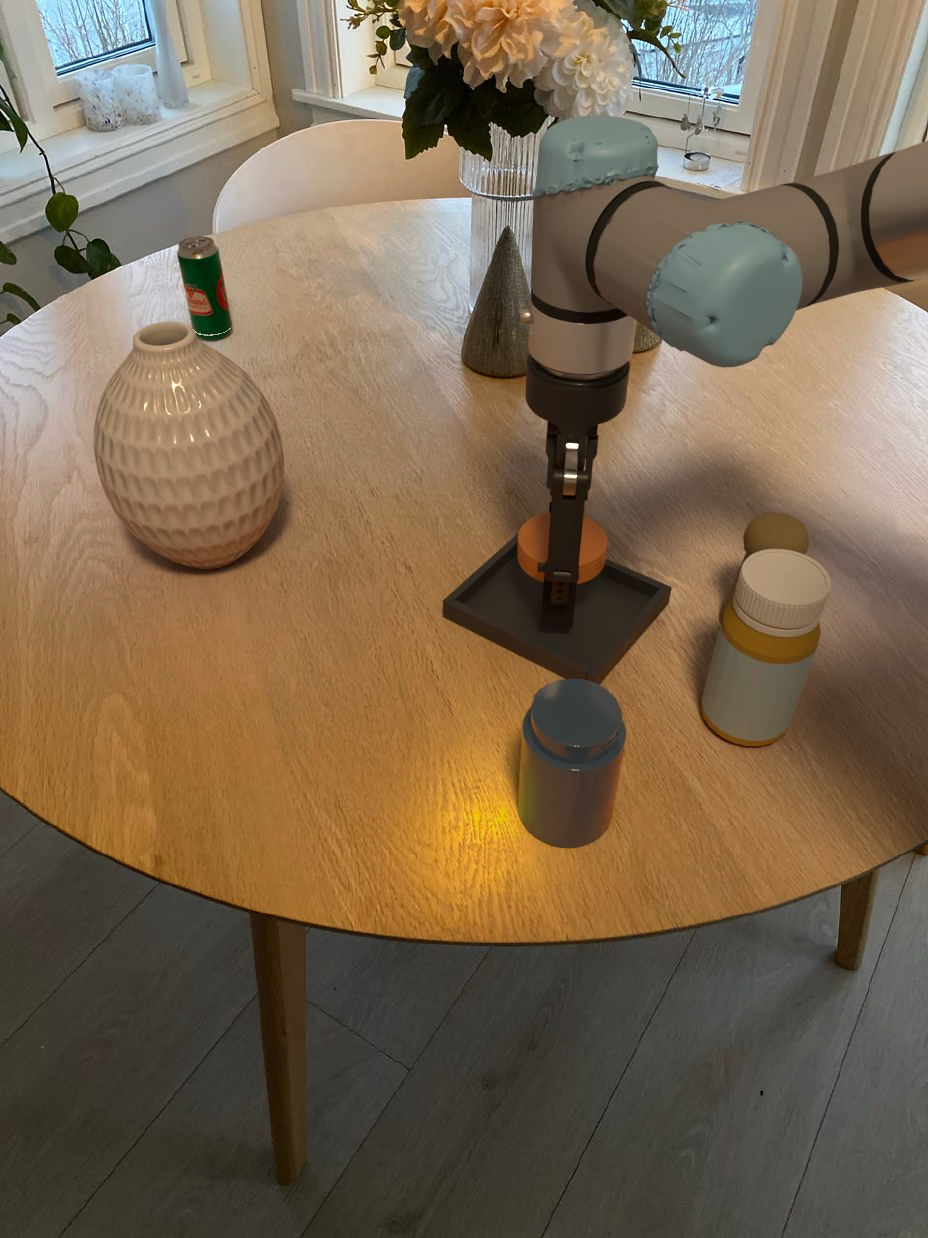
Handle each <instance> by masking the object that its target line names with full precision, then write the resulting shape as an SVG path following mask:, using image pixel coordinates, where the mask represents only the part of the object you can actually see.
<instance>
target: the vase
mask: <svg viewBox="0 0 928 1238" xmlns="http://www.w3.org/2000/svg"><path fill="white" fill-rule="evenodd" d="M93 451H94V452H93V454H94V459H95V464H96V469H97V470H96V471H97V475H98V478H99V480H100V484H101V486H102V489H103V492H104V494H105V496H106V498H107V500H108V503H109V504H110V506H111V508H112V510H113V511H114V514H115V515H116V516H117V518H118V519H119V520H120V521H121V522H122V523H123V525H124V526H125V527H126V528H127V529H128V531H129V532H130V533H131V534H132V535H133V536H134V537H135V538H136V539H138V540H139V541H140V542H141V543H143V544H144V545H145V546H147V547H148V548H149V549H150V550H152V551H153V552H155V553H157V554H159V555H160V556H162V557H164V558H166V559H168V560H169V561H172V562H175V563H177V564H180V565H183V566H185V567H189V568H194V569H200V570H212V569H219V568H223V567H225V566H228V565H230V564H232V563H234V562H236V561H237V560H239V559H241V558H242V557H243V556H244V555H245V554H246V553H248V552H249V551H250V550H251V548H253V547H254V546H255V545H256V544H257V543H258V542H259V540H260V539H261V537H263V534H264V533H265V532H266V530H267V529H268V527H269V526H270V524H271V521H272V520H273V518H274V515H275V513H276V511H277V509H278V508H279V504H280V501H281V500H280V499H281V495H282V492H283V487H284V480H285V455H284V450H283V441H282V436H281V432H280V430H279V426H278V422H277V420H276V416H275V415H274V412H273V410H272V408H271V406H270V404H269V402H268V400H267V398H266V396H264V394H263V392H262V391H261V390H260V387H258V385H257V384H256V382H255V381H254V380H253V379H252V378H251V377H250V376H249V374H248V373H247V372H246V371H245V370H244V369H243V368H241V367H240V366H239V365H238V364H237V363H235V362H234V361H233V360H232V359H230V358H229V357H227V356H226V355H224V354H223V353H221V352H220V351H218V350H216V349H215V348H213V347H212V346H211V345H208V344H206V343H205V342H203V340H202V341H201V339H200V338H198V337H197V336H196V333H195V331H194V330H193V328H192V326H190V325H188V324H186V323H184V322H179V321H161V322H155V323H152V324H148V325H146V326H144V327H142V328H141V329H139V330H138V331H136V333H135V334H134V336H133V337H132V349H131V351H130V352H129V353H128V355H127V357H125V359H124V360H123V362H122V363H121V364H120V365H119V366H118V368H117V369H116V371H115V372H114V373H113V375H111V377H110V379H109V381H108V383H107V384H106V386H105V388H104V390H103V392H102V394H101V396H100V399H99V403H98V406H97V409H96V415H95V420H94V426H93Z"/></svg>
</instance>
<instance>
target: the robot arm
mask: <svg viewBox="0 0 928 1238" xmlns="http://www.w3.org/2000/svg"><path fill="white" fill-rule="evenodd" d="M658 143H659V142H658V139H657V138H656V136H655V134H654V133H653V131H652V129H651V128H650V127H649V126H647V125H646V124H644V123H642V122H639V121H637V120H633V119H629V118H626V117H620V116H613V115H612V116H611V115H584V116H578V117H576V116H575V117H572V118H567V119H563V120H560V121H559V122H557V123H555V124H553V125H551V126H550V127H549V128H548V129H546V131H544V133H543V135H542V136H541V139H540V140H539V145H538V153H537V163H536V164H537V165H536V175H535V183H534V184H535V187H534V188H533V190H532V192H531V194H532V195H531V197H532V198H533V201H532V203H533V204H532V232H531V233H532V234H531V236H532V237H531V239H532V240H531V259H530V260H531V262H530V263H531V264H530V304H529V305H530V306H529V307H530V308H523V309H522V311H521V312H520V317H519V318H520V321H521V322H522V323H523V324H529V328H528V344H527V345H528V346H527V348H528V352H529V355H528V356H527V359H526V371H525V372H526V373H525V374H526V375H525V391H524V392H525V394H524V395H525V396H524V397H525V403H526V404H527V406H528V408H529V409H530V411H532V413H533V414H535V415H536V416H537V417H539V418H540V419H542V420H544V421H546V422H547V425H546V438H545V454H546V457H547V470H546V483H545V484H546V488H547V489H548V490H549V496H551V501H549V504H548V505H549V506H548V512H551V517H550V531H549V545H548V559H547V561H545V563H542V562H538V566H537V572H545V573H544V587H543V601H542V615H541V625H544V626H558V627H572V626H573V617H574V607H575V597H576V588H577V582H578V579H579V576H580V572H579V571H578V570H579V558H580V547H581V537H582V526H583V516H585V504H586V502H588V500H589V499H588V498H589V491H590V490H591V488H592V480H593V479H592V478H593V465H594V460H595V459H596V458H597V456H598V449H599V447H598V446H599V434H598V429H599V425H602V424H605V423H607V422H610V421H612V420H613V419H615V418H616V417H618V415H620V414H621V413H622V412H623V410H624V408H625V406H626V402H627V394H628V386H629V378H630V369H631V364H630V360H631V359H632V356H633V352H634V346H635V338H636V329H637V323H639V324H641V325H642V326H644V327H645V328H647V330H649V331H651V332H652V333H654V334H655V335H657V336H658V338H659V339H660V340H662V341H663V342H664V343H666V345H668V346H670V347H671V348H675V349H676V350H678V351H679V352H686V353H688V354H690V355H692V356H694V357H695V358H697V359H699V360H701V361H703V362H705V363H707V364H709V365H711V366H714V367H718V368H736V367H740V366H743V365H747V364H749V363H751V362H753V361H755V360H756V359H757V358H759V356H760V355H761V353H762V351H763V349H764V348H766V347H768V346H773V345H774V344H776V343H777V342H778V341H779V339H781V337H782V336H783V334H784V333H785V331H786V330H787V329H788V327H789V325H791V322H792V320H793V318H794V316H795V314H796V312H797V311H800V310H802V309H805V308H808V307H810V306H812V305H816V304H820V303H823V302H828V301H831V300H834V299H837V298H841V297H845V296H849V295H852V294H856V293H861V292H866V291H870V290H875V289H876V290H877V289H881V288H887V287H892V286H898V285H903V284H907V283H913V282H914V281H920V280H925V279H928V140H925V141H922V142H919V143H917V144H913V145H911V146H907V147H905V148H903V149H900V150H897V151H892V152H888V153H885V154H882V155H879V156H876V157H873V158H870V159H867V160H864V161H861V162H858V163H855V164H853V165H852V164H851V165H849V166H846V167H843V168H842V167H841V168H839V169H836V170H833V171H829V172H826V173H821V174H818V175H815V176H811V177H807V178H803V179H800V180H796V181H793V182H787V183H782V184H778V185H773V186H769V187H765V188H761V189H758V190H753V191H750V192H744V193H741V194H736V195H733V196H732V195H731V196H729V197H725V198H721V199H717V200H712V201H703V200H698V199H696V198H693V197H691V196H689V195H687V194H685V193H683V192H680V191H678V190H676V189H674V188H671V187H669V186H668V185H667V184H666V183H663V182H662V181H659V180H657V179H656V175H657V172H658V170H659V167H660V165H659V163H658V150H659V149H658V147H659V144H658Z"/></svg>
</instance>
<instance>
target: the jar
mask: <svg viewBox="0 0 928 1238" xmlns="http://www.w3.org/2000/svg"><path fill="white" fill-rule="evenodd" d="M521 725H522V726H521V727H522V728H521V743H520V759H519V776H518V777H519V778H518V790H517V791H518V793H517V812H518V813H517V814H518V816H519V819H520V821H521V823H522V825H523V826H524V828H525V829H526V831H527V832H528V833H529V834H530V835H531V836H533V837H534V838H535V839H537V840H538V841H540V842H542V843H543V844H545V845H548V846H550V847H551V846H552V847H556V848H561V849H574V848H575V849H577V848H581V847H585V846H588V845H590V844H592V843H594V842H596V841H597V840H599V839H600V838H601V837H602V836H603V835H604V834H605V833H606V832H607V831H608V829H609V827H610V825H611V823H612V819H613V814H614V808H615V803H616V798H617V791H618V786H619V781H620V774H621V770H622V769H621V768H622V764H623V758H624V752H625V746H626V740H627V728H626V724H625V722H624V719H623V713H622V708H621V706H620V703H619V702H618V700H617V698H616V697H615V695H614V694H612V693H611V692H610V691H609V690H608V689H607V688H606V687H604V686H602V685H598V684H596V683H594V682H591V681H587V680H582V679H566V678H563V679H559V680H555V681H553V682H549V683H547V684H545V685H544V686H542V687H541V688H539V689H538V690H537V692H535V694H534V695H533V700H532V703H531V705H530V707H528V710H527V711H526V713H525V714H524V717H523V720H522V724H521Z"/></svg>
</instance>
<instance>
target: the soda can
mask: <svg viewBox="0 0 928 1238" xmlns="http://www.w3.org/2000/svg"><path fill="white" fill-rule="evenodd" d="M177 245H178V249H177V251H176V255H177V261H178V265H179V270H180V275H181V280H182V285H183V289H184V294H185V299H186V305H187V308H188V313H189V318H190V323H191V328H193V329H194V330H195V331H196V332H197V333H201V334H206V335H207V334H208V335H210V334H218V333H222V334H219V335H213V336H204V335H199V334H197V333H196V336H197V338H198V339H199V340H202V341H206V342H214V341H220V340H223V339H226V338H228V336H229V335H230V334H231V333H232V331H233V323H232V322H233V321H232V317H231V310H230V306H229V299H228V293H227V289H226V283H225V277H224V271H223V266H222V260H221V255H220V250H219V247H218V246H217V245H216V243H215V239H213V238H211V237H209V236H205V235H195V236H190V237H186V238H184V239H181V240H180V241H179V242H178V244H177ZM231 326H232V327H231ZM229 328H231V329H230V330H228V329H229ZM227 330H228V331H227ZM225 331H227V332H225ZM223 332H225V333H223Z"/></svg>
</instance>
